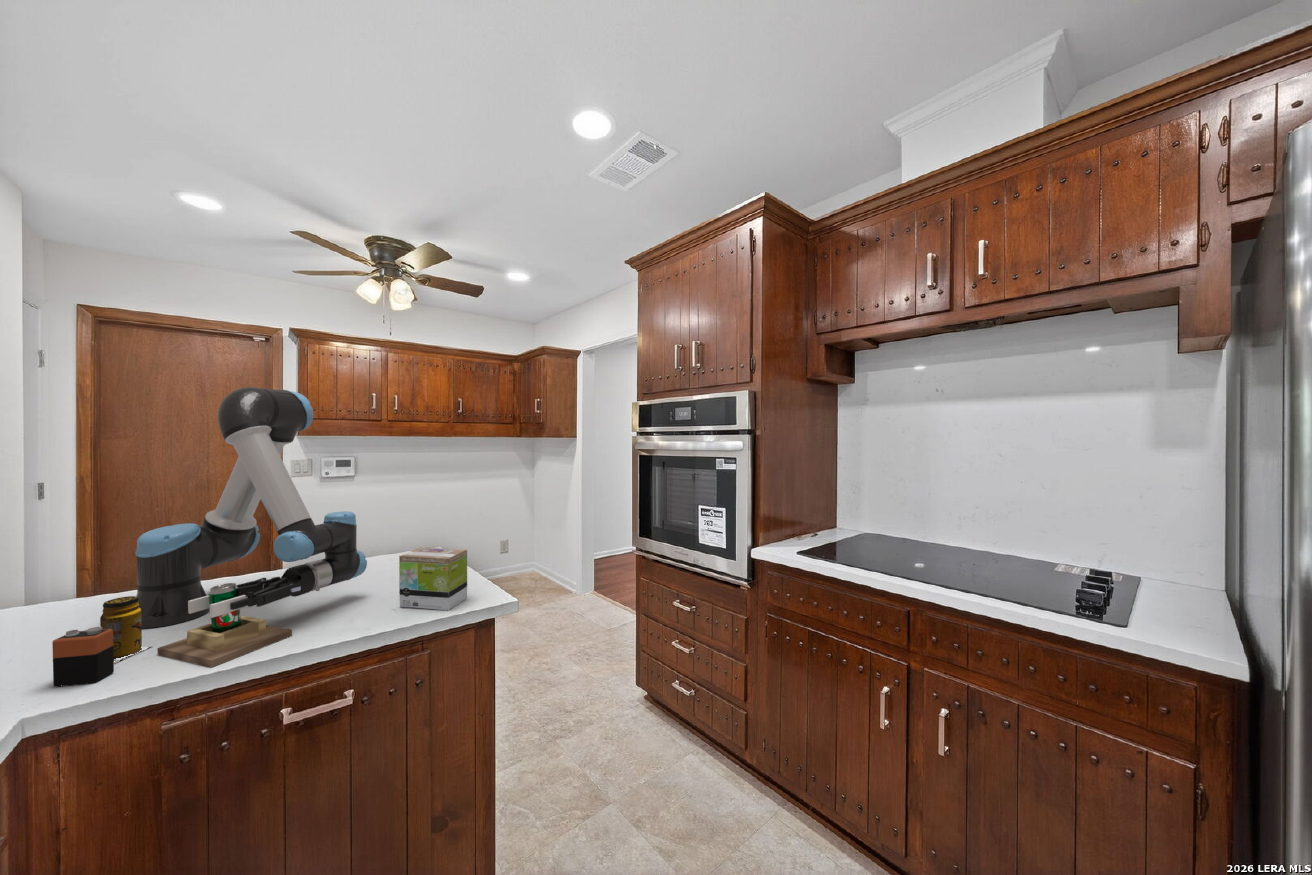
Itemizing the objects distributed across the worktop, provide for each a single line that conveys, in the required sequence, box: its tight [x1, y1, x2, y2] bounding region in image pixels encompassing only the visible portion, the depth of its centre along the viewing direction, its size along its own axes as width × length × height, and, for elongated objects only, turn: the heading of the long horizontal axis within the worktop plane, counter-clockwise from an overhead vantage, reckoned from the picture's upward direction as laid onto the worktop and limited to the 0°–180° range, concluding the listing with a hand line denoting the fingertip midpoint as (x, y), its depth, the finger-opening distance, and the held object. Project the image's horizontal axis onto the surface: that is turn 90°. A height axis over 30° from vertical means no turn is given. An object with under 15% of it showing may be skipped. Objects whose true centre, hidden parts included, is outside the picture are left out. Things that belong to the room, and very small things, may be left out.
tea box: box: [398, 546, 468, 612], centre depth 135 cm, size 15×10×15 cm, turn 82°
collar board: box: [156, 615, 293, 669], centre depth 109 cm, size 18×16×4 cm
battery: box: [51, 626, 115, 687], centre depth 94 cm, size 4×7×10 cm, turn 104°
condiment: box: [99, 595, 148, 664], centre depth 104 cm, size 7×8×12 cm
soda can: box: [207, 582, 242, 633], centre depth 109 cm, size 5×5×12 cm
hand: (200, 609), depth 104 cm, fingers open, 7 cm apart
